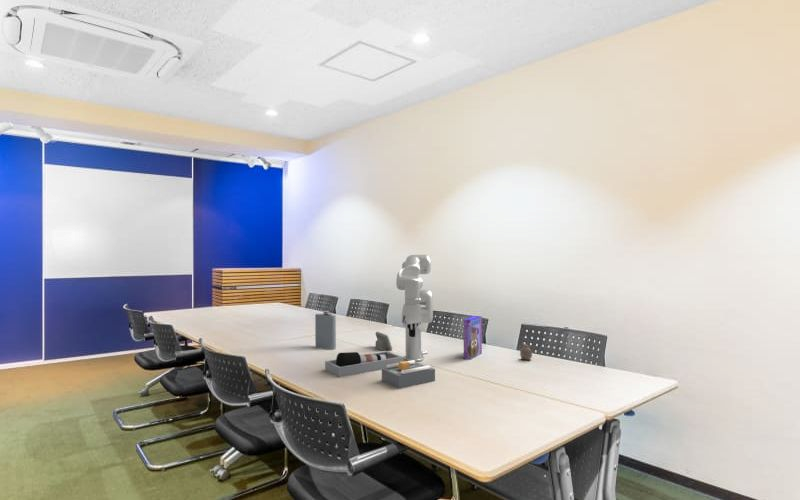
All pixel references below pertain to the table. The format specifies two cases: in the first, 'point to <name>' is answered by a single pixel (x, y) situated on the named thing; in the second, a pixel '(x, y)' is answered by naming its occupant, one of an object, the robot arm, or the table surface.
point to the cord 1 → (398, 364)
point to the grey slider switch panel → (407, 376)
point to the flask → (325, 330)
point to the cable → (356, 358)
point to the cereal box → (472, 337)
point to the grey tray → (362, 365)
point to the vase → (526, 353)
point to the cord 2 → (415, 369)
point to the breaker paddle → (404, 365)
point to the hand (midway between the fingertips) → (412, 336)
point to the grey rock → (383, 342)
